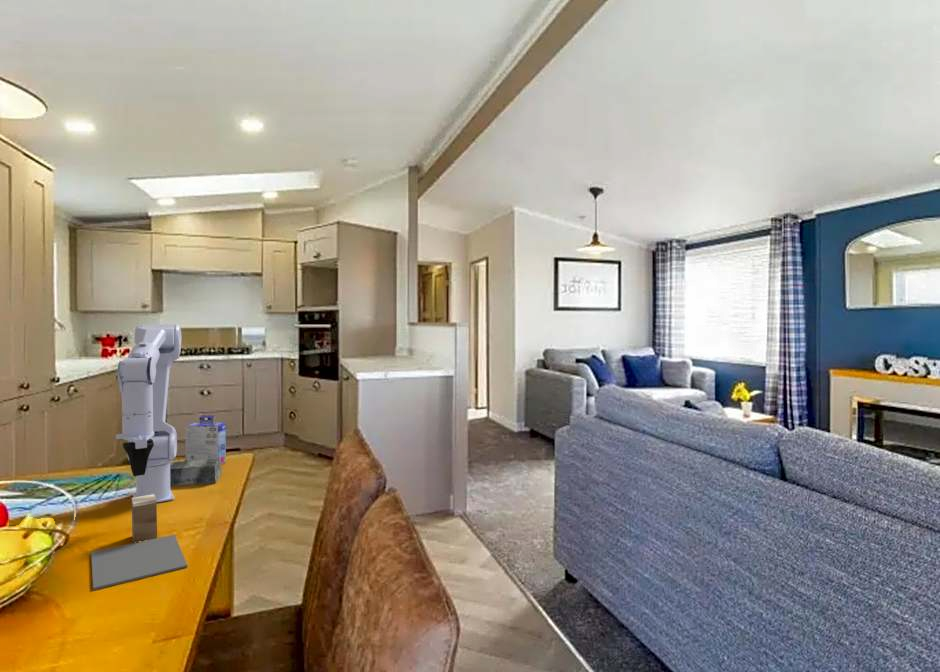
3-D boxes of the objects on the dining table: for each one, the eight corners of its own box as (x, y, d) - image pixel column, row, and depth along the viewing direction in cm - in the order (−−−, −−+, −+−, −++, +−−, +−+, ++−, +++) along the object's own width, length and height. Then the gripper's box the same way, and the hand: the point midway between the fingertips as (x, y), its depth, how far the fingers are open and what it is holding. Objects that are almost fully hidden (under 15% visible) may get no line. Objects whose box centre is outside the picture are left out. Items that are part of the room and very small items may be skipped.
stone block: (167, 477, 149) (167, 459, 149) (223, 474, 152) (223, 456, 152) (156, 488, 140) (155, 468, 140) (215, 484, 143) (215, 465, 143)
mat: (91, 554, 102) (91, 551, 102) (174, 536, 111) (174, 534, 111) (93, 590, 89) (93, 588, 89) (187, 567, 98) (187, 565, 98)
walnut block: (132, 536, 110) (131, 497, 110) (154, 531, 113) (154, 494, 112) (134, 543, 107) (133, 503, 107) (157, 538, 110) (156, 499, 109)
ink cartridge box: (227, 461, 163) (226, 414, 163) (219, 467, 158) (218, 418, 157) (194, 461, 163) (193, 414, 162) (185, 467, 158) (184, 418, 157)
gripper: (113, 409, 120) (114, 469, 121) (117, 420, 108) (118, 486, 109) (150, 406, 124) (151, 464, 125) (157, 416, 113) (158, 480, 113)
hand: (138, 474), depth 117 cm, fingers closed
